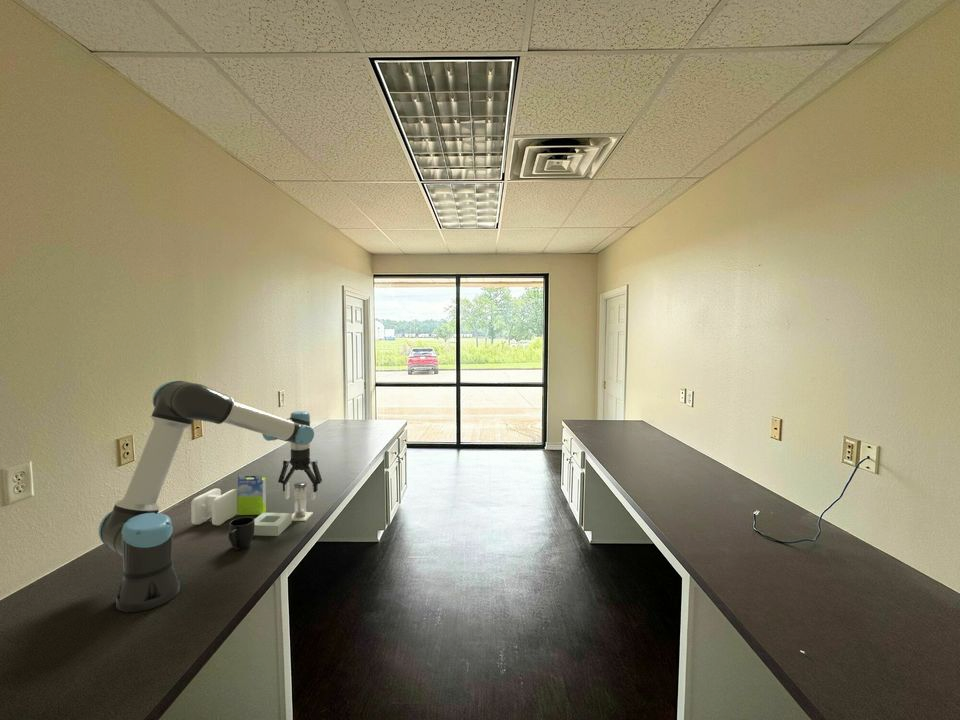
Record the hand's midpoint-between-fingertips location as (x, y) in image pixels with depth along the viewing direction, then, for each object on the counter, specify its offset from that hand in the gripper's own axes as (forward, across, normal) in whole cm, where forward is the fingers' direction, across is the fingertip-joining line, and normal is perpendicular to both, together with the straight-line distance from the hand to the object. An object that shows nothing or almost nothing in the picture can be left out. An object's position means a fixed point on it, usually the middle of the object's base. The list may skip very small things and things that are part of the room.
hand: (300, 498), depth 189 cm
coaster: (+8, 0, 0) cm, 8 cm away
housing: (+8, +7, +12) cm, 16 cm away
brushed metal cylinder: (+7, 0, 0) cm, 7 cm away
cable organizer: (+8, +33, +6) cm, 35 cm away
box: (+8, +22, -2) cm, 24 cm away
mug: (+8, +10, +29) cm, 32 cm away
